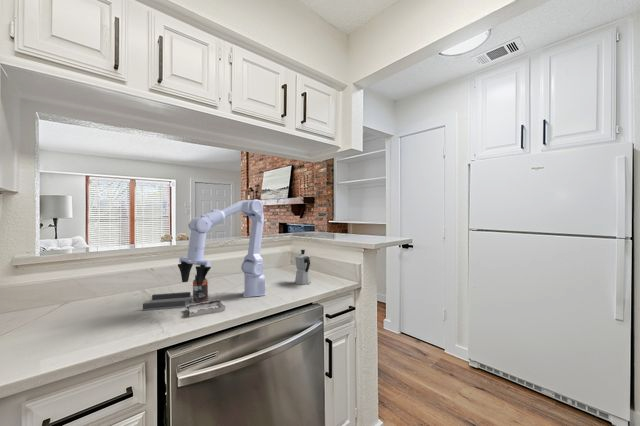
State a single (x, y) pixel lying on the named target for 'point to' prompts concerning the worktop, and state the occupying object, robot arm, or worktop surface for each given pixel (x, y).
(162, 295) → the mat
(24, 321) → the worktop surface
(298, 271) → the coffee maker
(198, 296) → the supplement bottle
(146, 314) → the worktop surface
